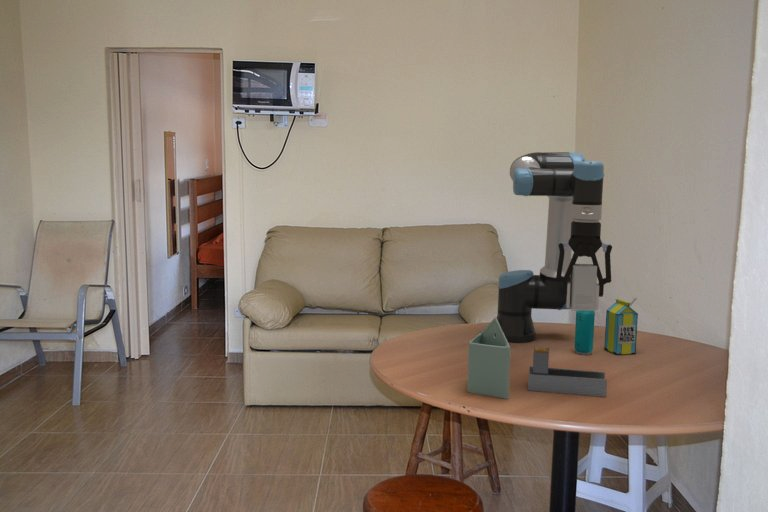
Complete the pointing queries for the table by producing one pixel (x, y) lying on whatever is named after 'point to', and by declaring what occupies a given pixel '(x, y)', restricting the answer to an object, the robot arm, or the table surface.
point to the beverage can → (584, 332)
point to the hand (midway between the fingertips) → (582, 307)
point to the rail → (563, 378)
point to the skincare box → (583, 287)
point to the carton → (621, 328)
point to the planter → (489, 362)
